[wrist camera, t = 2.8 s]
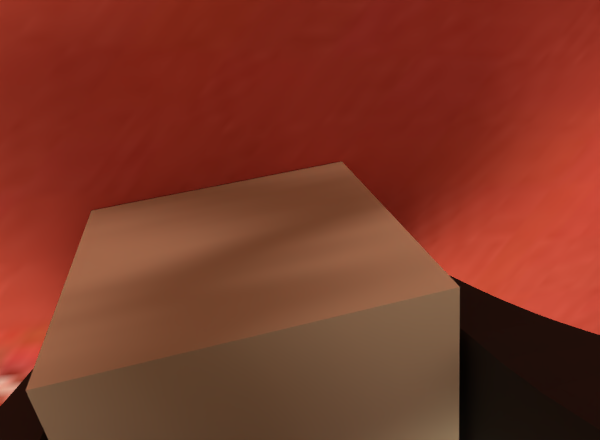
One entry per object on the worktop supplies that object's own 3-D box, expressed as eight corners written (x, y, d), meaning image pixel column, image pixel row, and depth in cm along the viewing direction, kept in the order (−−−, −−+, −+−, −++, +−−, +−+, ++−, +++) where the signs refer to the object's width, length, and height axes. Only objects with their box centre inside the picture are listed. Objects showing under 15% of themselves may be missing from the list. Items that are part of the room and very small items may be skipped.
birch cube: (341, 161, 11) (460, 286, 6) (360, 353, 13) (458, 548, 8) (91, 210, 10) (25, 390, 6) (155, 405, 12) (144, 646, 8)
